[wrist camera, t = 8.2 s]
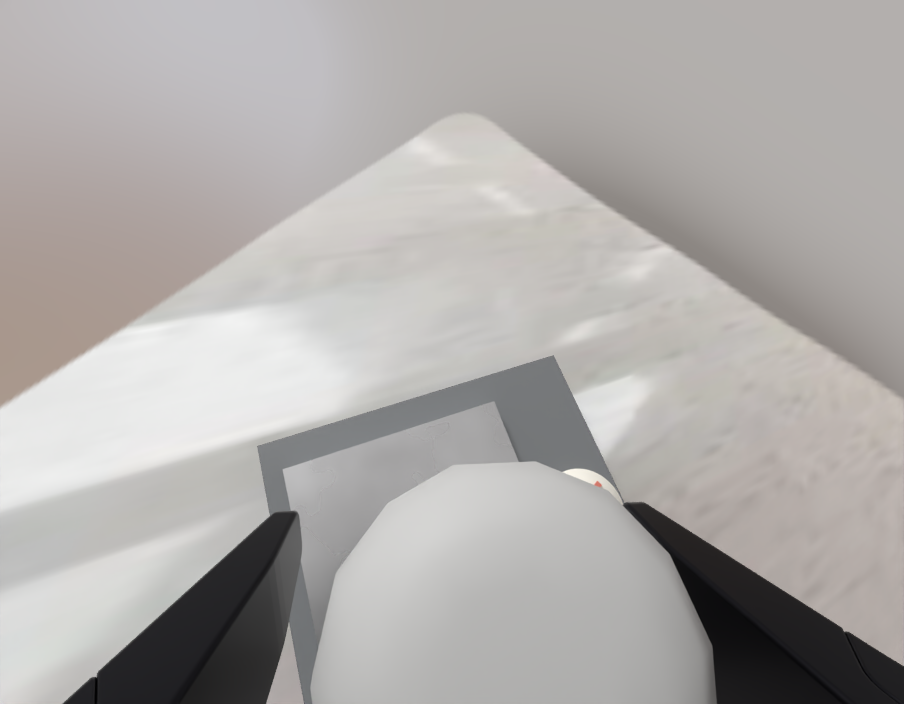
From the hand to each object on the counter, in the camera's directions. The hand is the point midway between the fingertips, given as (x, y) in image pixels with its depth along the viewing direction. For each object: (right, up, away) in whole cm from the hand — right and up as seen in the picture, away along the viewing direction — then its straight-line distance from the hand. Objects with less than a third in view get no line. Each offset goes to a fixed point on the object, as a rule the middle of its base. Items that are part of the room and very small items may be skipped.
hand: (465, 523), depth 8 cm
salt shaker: (-1, -5, +7) cm, 9 cm away
